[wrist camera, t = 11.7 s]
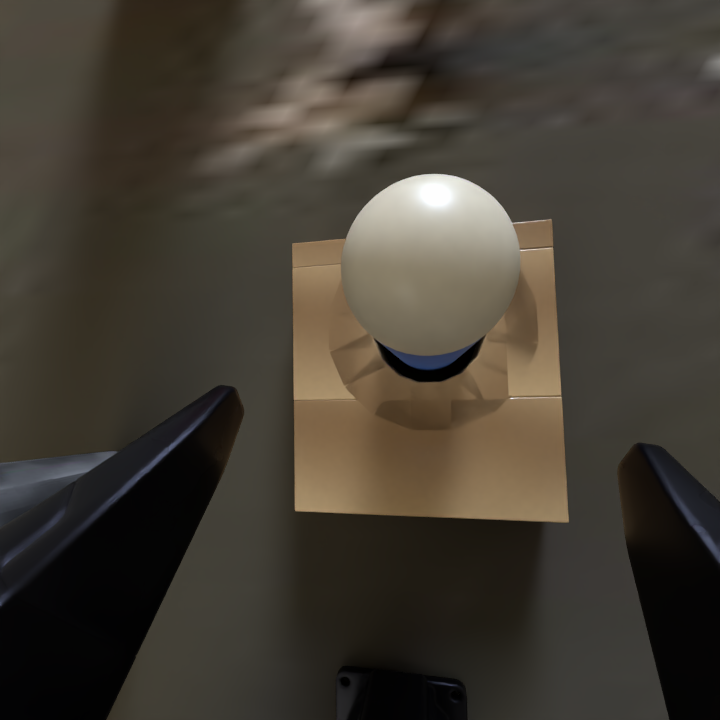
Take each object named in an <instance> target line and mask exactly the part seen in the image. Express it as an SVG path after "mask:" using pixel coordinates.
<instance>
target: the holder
mask: <svg viewBox="0 0 720 720" xmlns="http://www.w3.org/2000/svg"><path fill="white" fill-rule="evenodd" d="M512 225H513V227H514V229H515V232H516V235H517V238H518V242H519V248H520V273H519V279H518V284H517V288H516V291H515V294H514V296H513V299H512V301H511V303H510V305H509V307H508V308H507V310H506V311H505V313H504V315H503V316H502V318H501V319H500V320H499V321H498V323H497V324H496V325H495V326H494V327H493V328H492V329H491V330H490V331H489V332H488V333H487V334H486V335H484V336H483V337H482V338H481V339H480V340H479V341H477V344H476V347H475V350H474V352H473V355H472V357H471V360H470V361H469V362H468V363H467V364H466V365H465V366H464V367H463V368H462V369H461V370H460V371H459V372H458V374H456V375H454V376H451V377H449V378H447V379H444V380H442V381H440V382H419V381H416V380H413V379H411V378H408V377H406V376H403V375H402V374H401V373H400V372H399V371H398V370H396V369H395V368H394V367H393V366H392V365H391V364H390V363H389V361H388V359H387V356H386V354H385V352H384V350H383V347H382V344H381V343H380V342H378V341H377V340H376V339H375V338H373V337H372V336H371V335H370V334H369V333H368V332H367V331H366V330H365V329H364V328H363V327H362V326H361V325H360V323H359V322H358V321H357V319H356V318H355V316H354V315H353V313H352V311H351V309H350V307H349V305H348V303H347V300H346V297H345V295H344V290H343V285H342V278H341V258H342V252H343V247H344V244H345V241H346V239H338V240H327V241H316V242H306V243H295V244H292V265H293V371H294V400H295V401H294V465H295V511H300V512H324V513H347V514H371V515H394V516H417V517H441V518H464V519H488V520H511V521H534V522H558V523H568V522H569V516H568V498H567V481H566V463H565V445H564V427H563V410H562V398H561V397H560V396H561V378H560V360H559V342H558V325H557V307H556V289H555V272H554V254H553V248H552V247H553V231H552V220H551V219H550V220H540V221H529V222H519V223H512Z"/></svg>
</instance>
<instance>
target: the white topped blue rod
mask: <svg viewBox="0 0 720 720" xmlns="http://www.w3.org/2000/svg"><path fill="white" fill-rule="evenodd" d="M519 273H520V248H519V242H518V238H517V235H516V232H515V229H514V227H513V225H512V222H511V220H510V218H509V216H508V215H507V213H506V211H505V210H504V209H503V207H502V206H501V205H500V204H499V202H498V201H497V200H496V199H495V198H494V197H492V196H491V195H490V194H489V193H488V192H486V191H485V190H484V189H482V188H481V187H479V186H478V185H476V184H474V183H472V182H470V181H468V180H465V179H462V178H459V177H455V176H450V175H443V174H425V175H419V176H413V177H410V178H407V179H404V180H401V181H399V182H397V183H394V184H392V185H391V186H389V187H387V188H386V189H384V190H383V191H381V192H380V193H379V194H377V195H376V196H375V197H374V198H373V199H372V200H371V201H370V202H369V203H367V204H366V205H365V207H364V208H363V209H362V210H361V212H360V213H359V214H358V216H357V217H356V219H355V220H354V222H353V224H352V226H351V228H350V230H349V232H348V235H347V238H346V241H345V244H344V247H343V252H342V258H341V278H342V285H343V290H344V295H345V297H346V300H347V303H348V305H349V307H350V309H351V311H352V313H353V315H354V316H355V318H356V319H357V321H358V322H359V323H360V325H361V326H362V327H363V328H364V329H365V330H366V331H367V332H368V333H369V334H370V335H371V336H372V337H373V338H375V339H376V340H377V341H378V342H380V343H381V344H382V345H383V346H384V347H386V348H387V349H388V350H389V351H391V352H392V353H393V354H394V355H396V356H397V357H398V358H399V359H400V360H402V361H403V362H404V363H405V364H407V365H408V366H410V367H412V368H414V369H417V370H422V371H435V370H440V369H442V368H445V367H447V366H449V365H450V364H452V363H453V362H454V361H455V360H456V359H458V358H459V357H460V356H461V355H462V354H463V353H465V352H466V351H467V350H468V349H469V348H470V347H472V346H473V345H474V344H475V343H476V342H477V341H479V340H480V339H481V338H482V337H483V336H484V335H486V334H487V333H488V332H489V331H490V330H491V329H492V328H493V327H494V326H495V325H496V324H497V323H498V321H499V320H500V319H501V318H502V316H503V315H504V313H505V311H506V310H507V308H508V307H509V305H510V303H511V301H512V299H513V296H514V294H515V291H516V288H517V284H518V279H519Z"/></svg>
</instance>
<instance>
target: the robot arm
mask: <svg viewBox="0 0 720 720" xmlns="http://www.w3.org/2000/svg"><path fill="white" fill-rule="evenodd" d="M243 416H244V408H243V405H242V402H241V399H240V397H239V394H238V392H237V389H236V388H235V387H232V386H225V385H219V386H217V387H215V388H213V389H212V390H210V391H209V392H207V393H206V394H204V395H203V396H201V397H200V398H198V399H197V400H195V401H194V402H192V403H191V404H189V405H188V406H186V407H185V408H183V409H182V410H180V411H179V412H177V413H176V414H174V415H173V416H171V417H170V418H168V419H167V420H165V421H164V422H162V423H161V424H159V425H158V426H156V427H155V428H153V429H152V430H150V431H149V432H147V433H146V434H144V435H143V436H141V437H140V438H138V439H137V440H135V441H134V442H132V443H131V444H129V445H128V446H126V447H125V448H123V449H122V450H120V451H118V452H117V453H115V454H114V455H112V456H111V457H109V458H108V459H106V460H105V461H103V462H102V463H100V464H99V465H97V466H96V467H94V468H93V469H91V470H90V471H88V472H87V473H85V474H84V475H82V476H81V477H79V478H78V479H77V481H73V482H72V483H70V484H69V485H67V486H66V487H64V488H63V489H61V490H60V491H58V492H57V493H55V494H53V495H52V496H50V497H49V498H47V499H46V500H44V501H43V502H41V503H39V504H38V505H36V506H35V507H33V508H32V509H30V510H28V511H27V512H25V513H23V514H22V515H20V516H18V517H17V518H15V519H13V520H12V521H10V522H9V523H7V524H5V525H4V526H2V527H0V720H106V719H107V717H108V715H109V713H110V711H111V709H112V706H113V704H114V702H115V700H116V698H117V696H118V694H119V692H120V690H121V688H122V685H123V683H124V681H125V679H126V677H127V675H128V673H129V671H130V669H131V667H132V664H133V662H134V660H135V658H136V656H135V655H137V653H138V651H139V649H140V647H141V645H142V643H143V641H144V639H145V637H146V634H147V632H148V630H149V628H150V626H151V624H152V622H153V620H154V618H155V616H156V613H157V611H158V609H159V607H160V605H161V603H162V601H163V599H164V597H165V595H166V592H167V590H168V588H169V586H170V584H171V582H172V580H173V578H174V576H175V573H176V571H177V569H178V567H179V565H180V563H181V561H182V559H183V557H184V555H185V552H186V550H187V548H188V546H189V544H190V542H191V540H192V538H193V536H194V534H195V531H196V529H197V527H198V525H199V523H200V521H201V519H202V517H203V515H204V513H205V510H206V508H207V506H208V504H209V502H210V500H211V498H212V496H213V494H214V492H215V489H216V487H217V485H218V483H219V481H220V479H221V477H222V474H223V472H224V470H225V467H226V465H227V462H228V459H229V456H230V453H231V451H232V448H233V445H234V442H235V439H236V436H237V433H238V431H239V428H240V425H241V422H242V419H243ZM617 475H618V484H619V492H620V500H621V508H622V516H623V524H624V532H625V539H626V545H627V550H628V554H629V559H630V563H631V567H632V571H633V575H634V579H635V583H636V587H637V591H638V595H639V599H640V603H641V607H642V611H643V615H644V619H645V623H646V627H647V631H648V635H649V639H650V643H651V647H652V651H653V655H654V659H655V663H656V667H657V671H658V675H659V679H660V683H661V687H662V691H663V695H664V699H665V704H666V708H667V712H668V716H669V720H720V502H719V501H718V500H717V499H716V498H715V497H714V496H713V495H712V494H711V493H710V492H709V491H708V490H707V489H706V488H705V487H704V486H703V485H702V484H700V483H699V482H698V481H697V480H696V479H695V478H694V477H693V476H692V475H691V474H690V473H689V472H688V471H687V470H686V469H685V468H684V467H683V466H682V465H681V464H680V463H678V462H677V461H676V460H675V459H674V458H673V457H672V456H671V455H670V454H669V453H668V452H667V451H666V450H665V449H664V448H662V447H661V446H658V445H653V444H646V443H637V444H634V445H633V446H632V448H631V449H630V450H629V452H628V453H627V454H626V456H625V457H624V458H623V460H622V461H621V462H620V464H619V466H618V471H617ZM343 677H347V678H348V679H349V680H350V681H345V680H344V679H343ZM453 691H458V692H459V693H460V694H459V695H454V694H452V692H453ZM336 717H337V720H468V719H467V696H466V689H465V686H464V684H463V683H462V682H461V681H459V680H457V679H451V678H443V677H434V676H426V675H421V674H414V673H406V672H397V671H389V670H380V669H367V668H358V667H350V666H343V667H342V668H340V670H339V671H338V674H337V678H336Z"/></svg>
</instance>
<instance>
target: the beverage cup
mask: <svg viewBox="0 0 720 720" xmlns="http://www.w3.org/2000/svg"><path fill="white" fill-rule="evenodd" d="M115 453H117V451H107V452H96V453H87V454H78V455H70V456H61V457H52V458H43V459H34V460H25V461H16V462H7V463H0V527H2V526H4V525H5V524H7V523H9V522H10V521H12V520H13V519H15V518H17V517H18V516H20V515H22V514H23V513H25V512H27V511H28V510H30V509H32V508H33V507H35V506H36V505H38V504H39V503H41V502H43V501H44V500H46V499H47V498H49V497H50V496H52V495H53V494H55V493H57V492H58V491H60V490H61V489H63V488H64V487H66V486H67V485H69V484H70V483H72V482H73V481H77V479H78V478H79V477H81V476H82V475H84V474H85V473H87V472H88V471H90V470H91V469H93V468H94V467H96V466H97V465H99V464H100V463H102V462H103V461H105V460H106V459H108V458H109V457H111V456H112V455H114V454H115Z"/></svg>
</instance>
